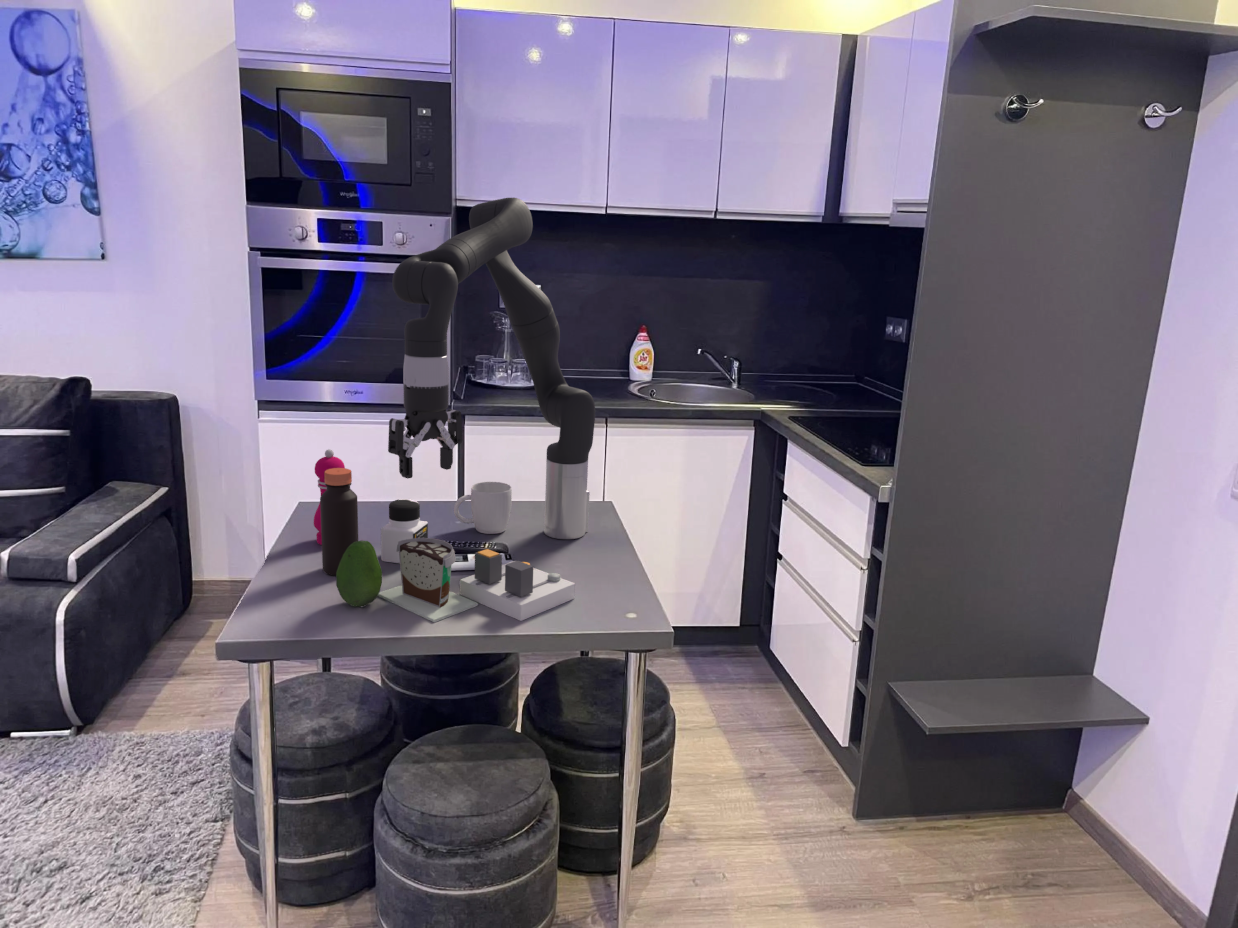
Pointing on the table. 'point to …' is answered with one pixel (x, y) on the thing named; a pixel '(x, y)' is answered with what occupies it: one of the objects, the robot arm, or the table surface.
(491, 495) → the mug
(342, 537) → the vinegar
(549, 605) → the panel
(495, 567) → the toggle
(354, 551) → the avocado
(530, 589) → the toggle
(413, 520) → the medicine bottle
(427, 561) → the food container
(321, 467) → the pepper mill
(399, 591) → the pad
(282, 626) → the table surface
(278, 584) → the table surface
